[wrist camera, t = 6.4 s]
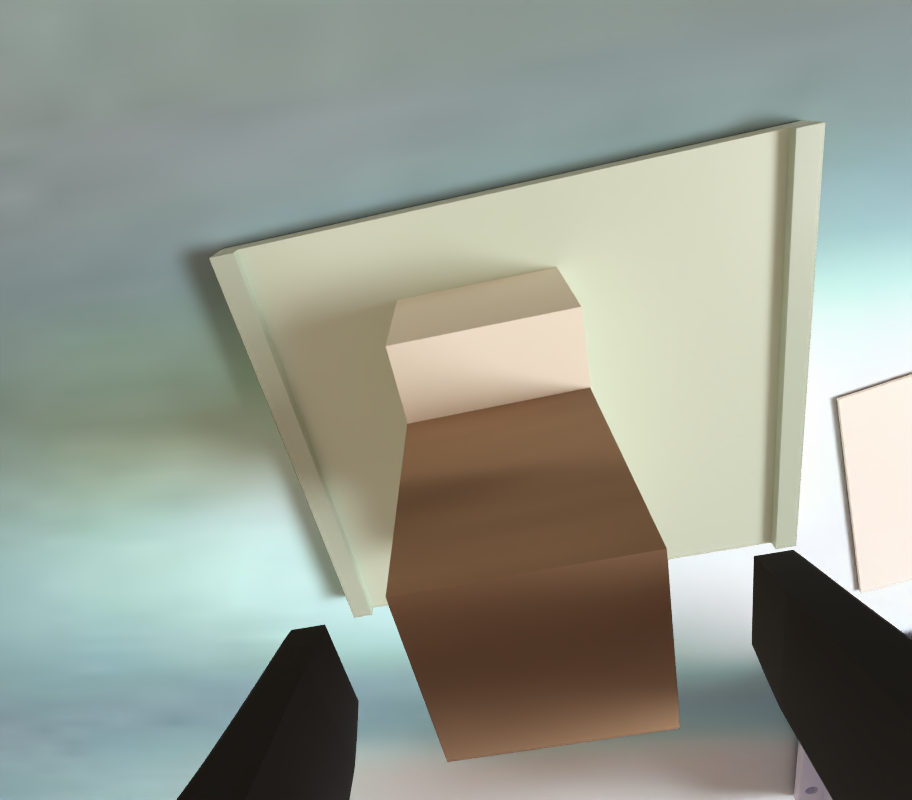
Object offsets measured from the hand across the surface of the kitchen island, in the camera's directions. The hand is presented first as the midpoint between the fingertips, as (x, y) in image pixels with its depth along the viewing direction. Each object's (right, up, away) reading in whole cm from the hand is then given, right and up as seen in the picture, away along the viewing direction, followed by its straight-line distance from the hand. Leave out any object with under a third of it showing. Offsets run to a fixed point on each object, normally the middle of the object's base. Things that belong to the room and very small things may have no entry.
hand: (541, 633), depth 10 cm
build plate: (+1, +4, +7) cm, 8 cm away
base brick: (0, +3, +6) cm, 7 cm away
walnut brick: (0, +2, +4) cm, 4 cm away
